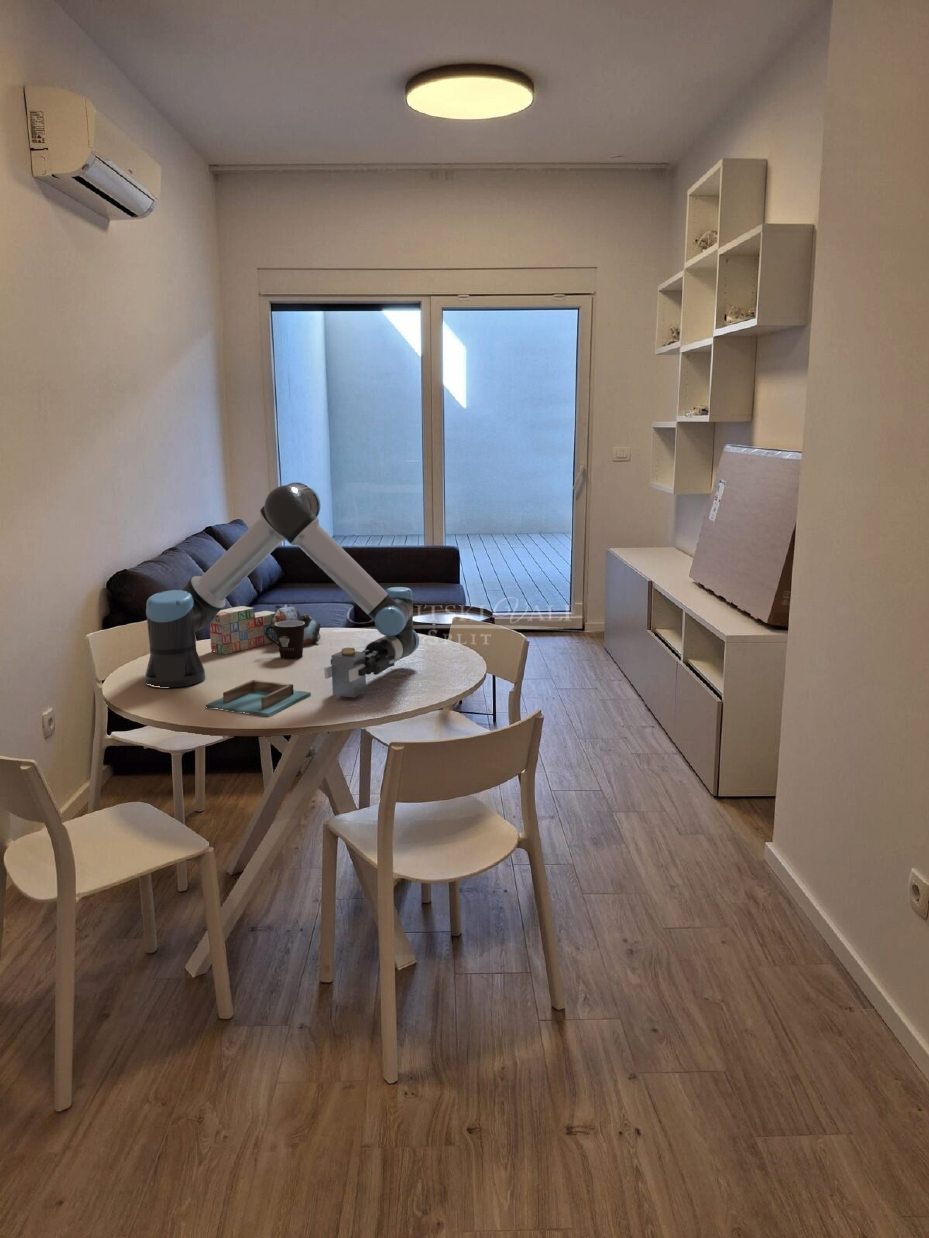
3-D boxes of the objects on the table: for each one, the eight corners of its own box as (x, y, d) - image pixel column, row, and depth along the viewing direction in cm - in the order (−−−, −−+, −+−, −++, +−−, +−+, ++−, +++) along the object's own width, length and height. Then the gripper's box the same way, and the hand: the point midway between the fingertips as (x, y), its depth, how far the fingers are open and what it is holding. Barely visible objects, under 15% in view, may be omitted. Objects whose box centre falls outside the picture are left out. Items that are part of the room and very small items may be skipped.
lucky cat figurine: (319, 646, 268) (296, 610, 262) (285, 660, 270) (261, 624, 264) (325, 622, 281) (303, 587, 275) (292, 636, 283) (270, 601, 277)
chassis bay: (205, 708, 210) (204, 694, 209) (251, 687, 226) (250, 675, 225) (268, 716, 203) (267, 703, 202) (310, 695, 219) (310, 682, 218)
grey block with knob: (332, 694, 215) (331, 650, 213) (345, 688, 220) (343, 645, 218) (354, 697, 213) (352, 653, 210) (366, 690, 218) (364, 647, 216)
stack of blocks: (268, 638, 279) (265, 600, 276) (280, 641, 275) (278, 603, 272) (210, 652, 263) (207, 611, 260) (223, 655, 259) (220, 614, 256)
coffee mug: (312, 656, 257) (310, 623, 254) (288, 662, 250) (286, 628, 248) (288, 650, 264) (286, 617, 262) (264, 655, 258) (262, 622, 256)
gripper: (415, 669, 229) (373, 694, 208) (352, 662, 236) (305, 685, 215) (415, 642, 227) (372, 663, 206) (351, 635, 234) (303, 655, 213)
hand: (338, 674), depth 211 cm, fingers closed on grey block with knob, 6 cm apart
